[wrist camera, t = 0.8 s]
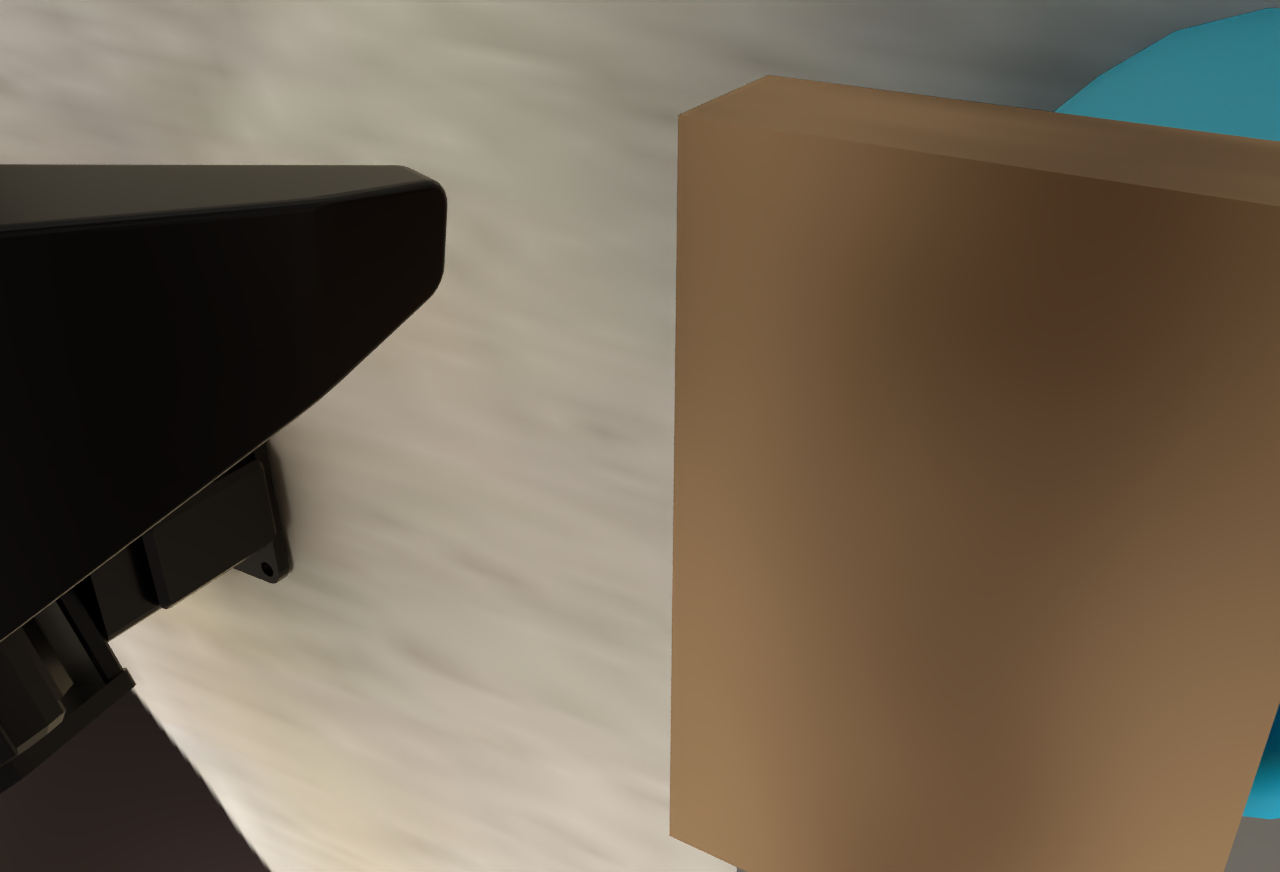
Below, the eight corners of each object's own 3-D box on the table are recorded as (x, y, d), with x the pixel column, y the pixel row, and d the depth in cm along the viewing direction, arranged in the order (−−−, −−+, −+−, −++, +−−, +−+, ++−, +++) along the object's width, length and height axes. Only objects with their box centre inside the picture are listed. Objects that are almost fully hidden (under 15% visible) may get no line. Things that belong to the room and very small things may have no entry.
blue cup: (1494, -100, 16) (1493, -12, 10) (1651, 450, 18) (1733, 817, 12) (758, 201, 24) (502, 355, 18) (915, 565, 25) (730, 822, 19)
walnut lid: (736, 748, 18) (670, 836, 17) (768, 74, 14) (678, 114, 12) (1192, 937, 15) (1160, 1064, 14) (1444, 163, 11) (1436, 230, 9)
